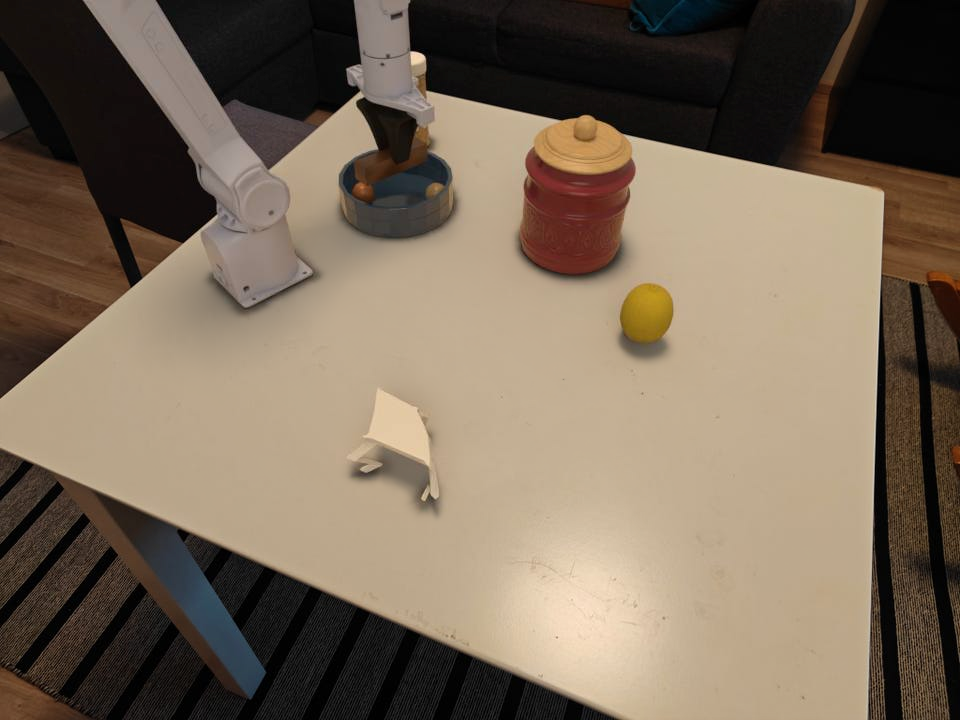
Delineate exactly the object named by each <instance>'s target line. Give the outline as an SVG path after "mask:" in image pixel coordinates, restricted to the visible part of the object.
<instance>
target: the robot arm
mask: <svg viewBox="0 0 960 720" xmlns="http://www.w3.org/2000/svg"><path fill="white" fill-rule="evenodd" d="M82 1H83V3H84V4H85V5H86V7H87V8H88V9H89V11H90V12H91V13H92V15H93V16H94V18H95V19H96V20H97V22H98V23H99V24H100V26H101V27H102V29H103V30H104V31H105V33H106V34H107V36H108V37H109V39H110V40H111V41H112V43H113V44H114V45H115V47H116V48H117V50H118V51H119V52H120V54H121V55H122V57H123V58H124V59H125V61H126V62H127V64H128V65H129V66H130V68H131V69H132V70H133V72H134V73H135V74H136V76H137V77H138V78H139V80H140V82H141V83H142V84H143V85H144V87H145V88H146V90H147V91H148V92H149V94H150V95H151V97H152V98H153V100H154V101H155V102H156V104H157V105H158V106H159V108H160V110H162V112H163V113H164V115H165V116H166V118H167V119H168V120H169V123H171V124H172V126H173V127H174V128H175V130H176V132H177V133H178V134H179V136H180V137H181V139H182V140H183V141H184V143H185V144H186V145H187V146H188V149H187V153H188V155H189V156H190V157H191V159H192V161H193V162H194V165H195V169H196V175H197V180H198V182H199V185H200V186H201V187H202V189H203V190H204V191H206V192H207V193H208V194H209V195H211V196H213V197H214V199H215V201H216V215H217V217H216V218H215V220H214V221H213V222H212V223H211V224H210V225H209V226H207V227H206V228H204V229H203V230H201V231H200V239H201V242H202V245H203V247H204V250H205V253H206V254H207V258H208V261H209V263H210V266H211V268H212V271H213V274H212V276H213V278H214V279H215V280H216V281H217V282H218V283H219V284H220V285H221V286H222V287H223V288H224V289H225V290H226V291H227V292H228V293H229V294H230V295H231V296H232V298H234V299H235V301H236V302H237V303H239V304H240V305H241V306H242V308H246V309H247V308H248V309H249V308H251V307H252V306H254V305H257V304H258V303H260V302H262V301H264V300H266V299H268V298H270V297H271V296H274V295H276V294H278V293H280V292H281V291H284V290H285V289H287V288H289V287H292V286H293V285H295V284H297V283H299V282H301V281H303V280H305V279H307V278H308V277H312V275H313V274H314V271H313V269H312V268H310V266H308V264H306V263H305V262H304V261H303V260H302V259H300V258H299V257H298V256H297V255H296V251H295V246H294V242H293V239H292V235H291V232H290V231H291V230H290V228H289V223H288V219H287V215H286V214H287V212H288V210H289V208H290V204H291V192H290V191H291V190H290V188H289V186H288V185H287V183H286V182H285V180H283V178H281V177H280V176H278V175H276V174H274V173H272V171H270V170H269V169H268V168H267V167H266V165H265V163H264V162H263V160H262V159H261V158H260V157H259V156H258V155H257V154H256V153H255V151H254V150H253V149H252V147H250V146H249V145H248V143H247V142H246V141H245V140H244V139H243V138H242V136H241V135H240V133H239V132H238V130H237V128H236V127H235V125H234V124H233V122H232V120H231V119H230V117H229V116H228V114H227V113H226V111H225V110H224V108H223V106H222V105H221V103H220V101H219V100H218V98H217V96H216V95H215V94H214V92H213V91H212V88H211V87H210V86H209V84H208V82H207V81H206V79H205V78H204V76H203V74H202V72H201V71H200V69H199V68H198V66H197V65H196V63H195V62H194V60H193V58H192V57H191V55H190V53H189V52H188V50H187V49H186V47H185V46H184V44H183V42H182V41H181V40H180V38H179V35H178V34H177V33H176V31H175V29H174V27H172V25H171V23H170V21H169V20H168V18H167V16H166V15H165V14H164V12H163V11H162V9H161V7H160V5H159V4H158V2H157V0H82ZM410 3H411V0H353V4H354V13H355V21H356V29H357V37H358V45H359V54H360V56H359V57H360V64H356V65H352V66H350V67H348V68H347V67H346V68H345V71H346V77H347V83H348V85H349V86H351V87H358V89H359V91H360V93H361V94H362V95H363V97H360V98H359V99H357V100H356V101H355V106H356V108H357V110H359V112H360V114H361V115H362V116H363V118H364V119H365V121H366V123H367V125H368V127H369V129H370V131H371V134H372V136H373V137H372V138H373V139H374V143H375V144H376V147H377V149H378V150H379V151H381V150H384V149H386V148H389V147H390V150H391V156H392V158H393V161H394V163H395V164H400V163H402V162H405V161H407V160H409V157H410V152H411V147H412V142H413V138H414V135H415V132H416V130H417V127H418V125H420V126H421V127H423V126H425V125H427V124H428V125H430V124H431V123H434V122H435V118H436V117H435V115H436V114H435V105H434V104H432V103H430V102H429V101H428V99H427V100H426V99H425V98H424V96H423V95H422V94H421V93H420V91H419V90H418V89H417V87H416V86H417V85H418V84H419V82H418V79H417V78H416V77H414V76H412V71H411V54H410V52H411V41H410V40H411V39H410V38H411V37H410V25H409V24H410V23H409V4H410Z"/></svg>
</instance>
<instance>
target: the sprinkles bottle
mask: <svg viewBox="0 0 960 720" xmlns="http://www.w3.org/2000/svg"><path fill="white" fill-rule="evenodd" d="M410 54H411V71H412V76H414V77H416V78H417V79H418V82H419V84H418V85H417V86H416V87H417V89H418V90H419V91H420V93H421V94H422V95H423V96H424V98H425V99H426V100H427V101H428V97H427V95H428V94H427V83H426V72H427V58H426V56H425V55H424V54H423V53H420V52H418V51H410ZM429 132H430V131H429V124H427V125H425V126H423V127H421V126H420V125H418V127H417V130H416V132H415V135H414V137H416V138H418V139H420V140H421V141H423V142H425V143H427V147H429V145H430V144H431V140H430V136H429V134H430V133H429Z"/></svg>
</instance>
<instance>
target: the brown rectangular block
mask: <svg viewBox="0 0 960 720" xmlns="http://www.w3.org/2000/svg"><path fill="white" fill-rule="evenodd" d="M427 151H428V146H427V143H425V142H423V141H421V140H420V139H418V138H416V137H414V138H413V142H412V147H411V152H410V157H409V160H407V161H405V162H402V163H400V164H395V163H394V161H393V158H392V156H391V150H390V147H389V148H386V149H384V150H381V151H378V152H376V153H373V154H371V155H368V156H366V157H363V158H360V159H358V160H355V161H354V168H355V177H356V179H357V180H358V181H360V182H361V183H363V184H364V185H366V186H369V185H371V184H373V183H376V182H378V181H381V180H383V179H385V178H388V177H390V176H392V175H395V174H397V173H400V172H402V171H404V170H407V169H409V168H412V167H414V166H416V165H419V164H421V163H424V162H426V161H427Z"/></svg>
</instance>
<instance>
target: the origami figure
mask: <svg viewBox="0 0 960 720" xmlns="http://www.w3.org/2000/svg"><path fill="white" fill-rule="evenodd" d="M429 417H430V415H429V414H427V413H426V412H424V411H420V409H419V407H417V406H413V405H411V404H409V403H407V402H405V401H403V400H401V399H399V398H397V397H395V396H394V395H392V394H390V393H387V392H386V391H383V390H382V389H381V388H380V387H379V386H378V387H377V390H376V394H375V400H374V410H373V414H372V418H371V423H370V426H369V430H368V433H367V434H364V435H362V436H361V439H362V440H363V441H364V442H363V443H362V444H361V445H359V446H358V447H357V448H356V449H354V450H353V451H352V452H351V453H350V454H349V455H347V456H346V457H345V459H347V460H349V461H353V462H355V463H361V464H367V465H364V466H362V467H360V468H359V471H361V472H363V473H366V474H367V473H369V472H371V471H373V470H376V469H378V468H380V467H382V466H383V463H382V462H380V461H377V460H374V459H370V458H366V457H363V456H364V455H365V454H367V453H368V452H370V450H372V449H373V448H374V447H375V446H377V445H378V446H380V447H382V448H385V449H387V450H389V451H392V452H394V453H397V454H399V455H402V456H403V457H406V458H408V459H411V460H413V461H415V462H418V463H420V464H422V465H424V466H427V467H428V471H429V473H428V474H429V483H430V484H427V486H426V488H425V490H424V492H423V494H422V496H421V497H420V499H421V500H422V501H423V502H426V501H427V499H428V497H429V495H430V496H431V497H432V498H433V499H434V500H437V499H438V498H439V497H440V491H439V484H438V483H439V481H438V478H437V472H436V468H435V463H434V462H435V461H434V453H433V443H432V438H431V437H430V436H431V435H430V434H429V431H428V430H427V428H426V424H427V422H428V420H429Z"/></svg>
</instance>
